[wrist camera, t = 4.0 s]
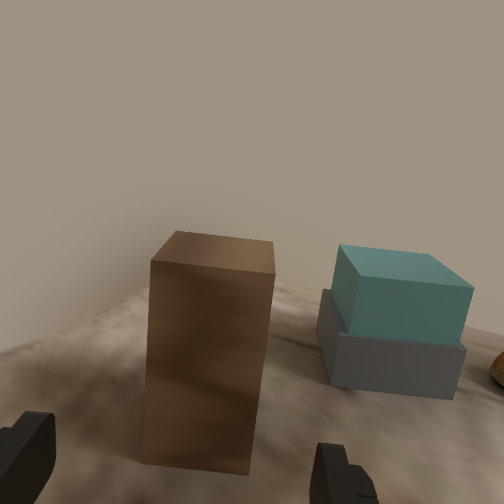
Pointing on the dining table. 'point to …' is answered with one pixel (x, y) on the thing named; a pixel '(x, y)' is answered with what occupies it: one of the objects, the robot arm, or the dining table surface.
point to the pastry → (498, 369)
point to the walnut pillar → (206, 350)
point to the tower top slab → (399, 296)
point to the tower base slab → (385, 360)
